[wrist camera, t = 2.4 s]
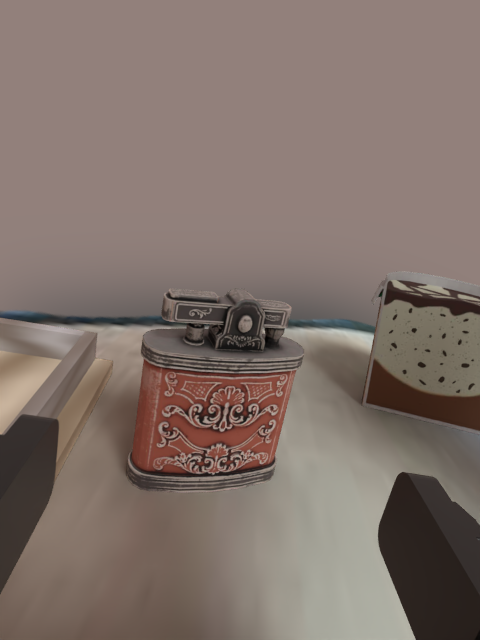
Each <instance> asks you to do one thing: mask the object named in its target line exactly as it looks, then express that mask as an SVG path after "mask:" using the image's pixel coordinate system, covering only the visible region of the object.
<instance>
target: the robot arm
mask: <svg viewBox="0 0 480 640" xmlns="http://www.w3.org/2000/svg"><path fill="white" fill-rule="evenodd" d="M58 434H59V421H58V419H54V418H47V417H40V416H34V415H27V414H22V415H20V417H19V418H18V419H17V420H16V421H15V422H14V424H13V425H12V426H11V427H10V429H9V430H8V431H7V432H6V433H5V435H1V434H0V594H1V592H2V590H3V588H4V586H5V584H6V582H7V580H8V578H9V576H10V575H11V573H12V571H13V569H14V567H15V565H16V563H17V561H18V559H19V557H20V555H21V554H22V552H23V550H24V548H25V546H26V544H27V542H28V540H29V538H30V536H31V534H32V533H33V531H34V529H35V527H36V525H37V523H38V521H39V519H40V517H41V515H42V514H43V512H44V510H45V508H46V506H47V504H48V501H49V499H50V496H51V493H52V489H53V485H54V480H55V472H56V459H57V447H58ZM378 541H379V547H380V551H381V554H382V556H383V559H384V561H385V564H386V566H387V569H388V571H389V574H390V576H391V579H392V581H393V584H394V586H395V589H396V591H397V594H398V596H399V599H400V601H401V604H402V606H403V609H404V611H405V614H406V616H407V619H408V621H409V624H410V626H411V629H412V631H413V634H414V636H415V639H416V640H480V526H479V524H478V523H477V521H476V520H475V519H474V518H473V517H472V516H471V515H470V514H468V513H467V512H466V511H465V510H464V509H463V508H462V507H461V506H459V505H458V504H457V503H456V502H452V501H451V499H450V498H449V496H448V495H447V493H446V492H445V490H444V489H443V487H442V486H441V484H440V483H439V481H438V480H437V479H436V478H434V477H431V476H425V475H418V474H411V473H405V472H402V473H400V474H399V475H398V476H397V478H396V480H395V483H394V485H393V488H392V491H391V494H390V496H389V499H388V502H387V504H386V507H385V510H384V513H383V515H382V518H381V521H380V524H379V530H378Z"/></svg>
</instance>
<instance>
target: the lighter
mask: <svg viewBox="0 0 480 640" xmlns="http://www.w3.org/2000/svg"><path fill="white" fill-rule="evenodd" d="M290 313H291V307H290V306H289V305H288V304H286V303H284V302H279V301H269V300H257V299H254V298H253V297H252V295H251V294H250V293H248V292H247V291H246V290H244V289H233V290H230V291H229V292H228V293H227V294H226V296H224V297H221V296H217V295H216V294H215V293H214V292H204V291H193V290H181V289H169V292H168V293H165V294H164V300H163V306H162V314H161V315H162V318H163V319H165V320H167V321H171V322H185V323H187V329H156V330H151V331H148V332H146V333H145V334H144V335H143V340H142V348H141V355H142V357H143V358H144V363H143V371H142V379H141V387H140V395H139V403H138V411H137V419H136V427H135V435H134V443H133V449H132V450H131V451H130V453H129V455H128V463H127V472H126V475H127V478H128V480H129V481H130V482H131V483H132V485H134V486H135V487H137V488H139V489H142V490H147V491H161V492H177V493H187V492H214V491H222V490H230V489H238V488H243V487H247V486H252V485H256V484H260V483H265V482H267V481H269V480H270V479H271V478H272V477H273V474H274V470H275V466H276V460H277V458H276V455H275V452H276V448H277V444H278V440H279V436H280V432H281V428H282V424H283V420H284V416H285V412H286V408H287V404H288V400H289V396H290V392H291V388H292V384H293V380H294V376H295V372H296V370H297V369H299V368H300V367H301V363H302V359H303V355H304V349H303V348H302V346H300V345H299V344H298V343H296V342H294V341H292V340H291V339H288V338H285V337H281V336H282V335H283V333H284V329H285V328H287V326H288V321H289V317H290ZM203 324H211V325H210V326H209V329H204V328H205V326H204V325H203ZM263 327H265V334H262V329H263Z"/></svg>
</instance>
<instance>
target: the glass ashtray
mask: <svg viewBox="0 0 480 640" xmlns="http://www.w3.org/2000/svg"><path fill="white" fill-rule="evenodd" d="M96 341H97V333H93V332H87V331H80V330H74V329H68V328H61V327H55V326H49V325H42V324H36V323H30V322H23V321H17V320H10V319H4V318H0V434H1V435H5V433H6V432H7V431H8V430H9V429H10V427H11V426H12V425H13V424H14V422H15V421H16V420H17V419H18V418H19V417H20V415H22V414H27V415H34V416H40V417H47V418H54V419H58V421H59V434H58V447H57V459H56V472H55V480H56V478H57V476H58V474H59V472H60V470H61V468H62V466H63V465H64V463H65V461H66V459H67V457H68V455H69V453H70V451H71V449H72V448H73V446H74V444H75V442H76V440H77V438H78V436H79V434H80V433H81V431H82V429H83V427H84V425H85V423H86V421H87V419H88V417H89V416H90V414H91V412H92V410H93V408H94V406H95V404H96V402H97V400H98V399H99V397H100V395H101V393H102V391H103V389H104V387H105V385H106V383H107V382H108V380H109V378H110V376H111V374H112V366H113V361H110V360H104V359H97V358H95V353H96ZM55 480H54V482H55Z"/></svg>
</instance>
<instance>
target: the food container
mask: <svg viewBox="0 0 480 640" xmlns="http://www.w3.org/2000/svg"><path fill="white" fill-rule="evenodd" d="M381 296H382V297H381ZM378 297H381V302H380V307H379V313H378V318H377V323H376V329H375V334H374V339H373V345H372V350H371V355H370V361H369V366H368V371H367V377H366V382H365V387H364V392H363V398H362V406H365V407H369V408H373V409H377V410H382V411H386V412H390V413H394V414H398V415H402V416H406V417H410V418H414V419H418V420H422V421H426V422H430V423H434V424H438V425H442V426H446V427H450V428H454V429H458V430H462V431H466V432H470V433H474V434H478V435H480V286H478V285H474V284H470V283H466V282H462V281H458V280H453V279H449V278H444V277H439V276H433V275H427V274H420V273H412V272H393V273H389V274H388V275H387V276H386V279H385V280H384V281H382V282H381V284H380V285H379V287H378V289H377V291H376V293H375V295H374V297H373V298H372V300H371V304H374V303H375V301H376V299H377V298H378Z"/></svg>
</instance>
